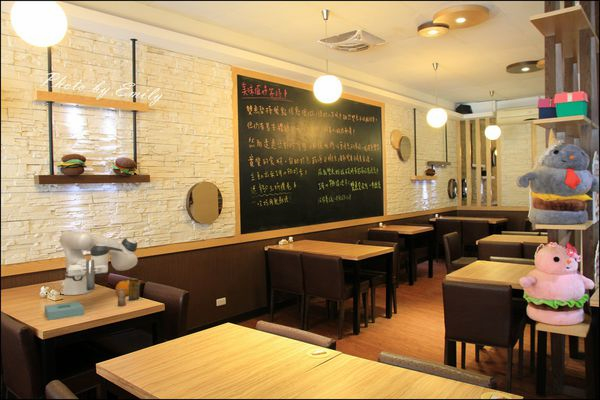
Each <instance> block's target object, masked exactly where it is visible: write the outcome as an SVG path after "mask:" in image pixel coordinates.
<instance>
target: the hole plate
mask: <svg viewBox="0 0 600 400" xmlns="http://www.w3.org/2000/svg"><path fill="white" fill-rule="evenodd" d="M84 314H85V313H84V306H83V305H82V304H81V303H80V301H78V300H77V301H70V302H62V303H55V304H49V305H47V304H46V305H44V315H45V316H46V319H47V320H48V321H52V320H60V319H64V318H65V319H66V318H73V317H79V316H84Z"/></svg>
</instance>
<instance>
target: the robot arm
mask: <svg viewBox="0 0 600 400" xmlns="http://www.w3.org/2000/svg"><path fill="white" fill-rule="evenodd" d="M59 243H60V245H61V246H62V249H63V253H64V256H65V266H66V267H65V269H66V270H65V273H64V274H65V279H64V280H63V281H62V282H61V283H60V284H61V287H62V288H61V289H60V292H62V293H63V294H64V295H63V296H78V295H84V294H87V293H90V292H93V291H94V290H89V291H88V290H86V274H87V271H86V260H87V259H86V256H85V254H84V253H83V251H85V252H89V253H90V260H94V278H95V277H98V278H99V277H102V276H104V275H106V274H107V273H108V271H109V256H110V263H111V266H112V268H114V270H116V271H127V270H130V269H133V268H134V267H135V266H137V264H138V261H139V260H138V259H139V258H138V257H137V255H136V254H135V253H136V251H137V249H138V243H137V241H136V240H135V239H133V238H130V237H127V238H126V237H125V238H123V240H122V241H121V242H120V243H119V241H118V240H115V239H113V238H109V237H106V236H102V235H95V234H91V233H87V232H81V231H72V230H69V231H66V232H64V233H62V234H61V235H60V237H59ZM60 292H59V293H60Z"/></svg>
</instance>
